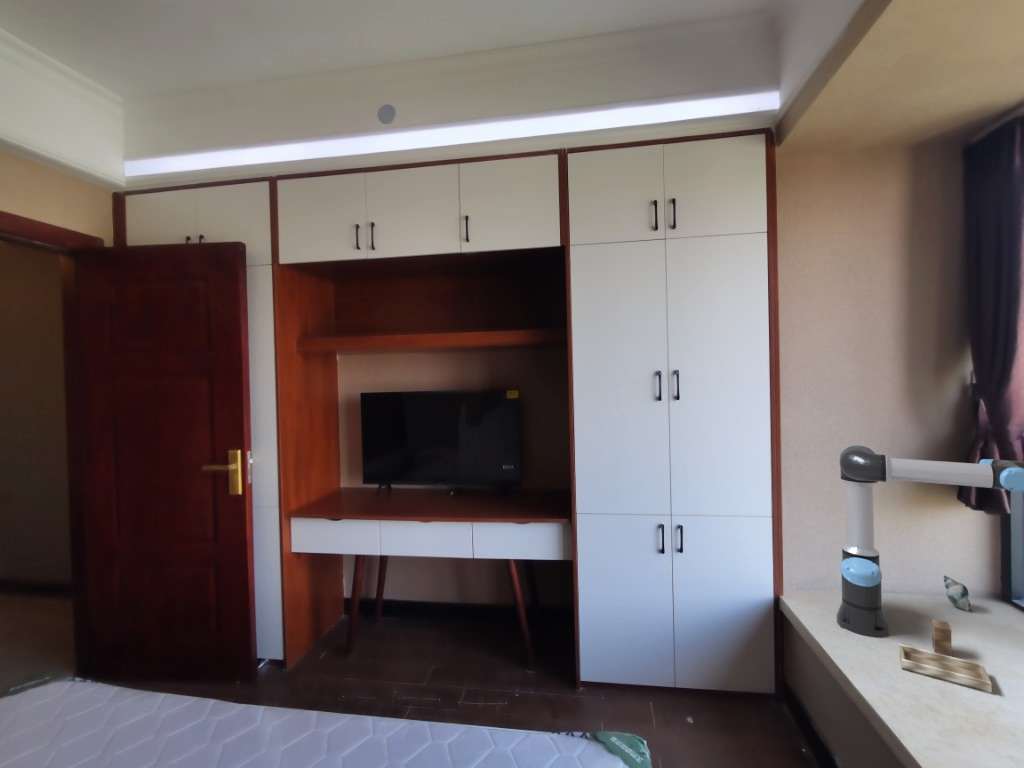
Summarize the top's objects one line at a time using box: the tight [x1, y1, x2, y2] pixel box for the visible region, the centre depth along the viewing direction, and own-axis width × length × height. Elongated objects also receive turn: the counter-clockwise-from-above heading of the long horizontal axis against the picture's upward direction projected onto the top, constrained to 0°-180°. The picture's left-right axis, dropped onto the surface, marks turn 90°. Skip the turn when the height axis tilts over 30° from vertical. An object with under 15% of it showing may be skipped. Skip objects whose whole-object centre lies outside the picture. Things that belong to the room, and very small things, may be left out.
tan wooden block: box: [931, 618, 953, 657], centre depth 152 cm, size 4×6×9 cm, turn 143°
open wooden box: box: [898, 643, 993, 694], centre depth 141 cm, size 20×11×3 cm, turn 53°
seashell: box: [943, 575, 973, 613], centre depth 178 cm, size 6×8×12 cm
